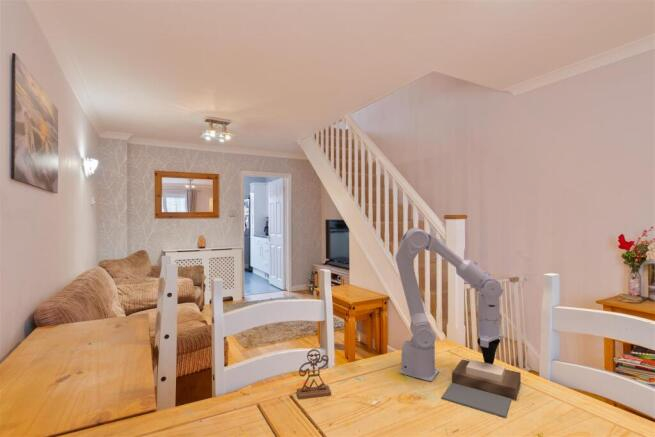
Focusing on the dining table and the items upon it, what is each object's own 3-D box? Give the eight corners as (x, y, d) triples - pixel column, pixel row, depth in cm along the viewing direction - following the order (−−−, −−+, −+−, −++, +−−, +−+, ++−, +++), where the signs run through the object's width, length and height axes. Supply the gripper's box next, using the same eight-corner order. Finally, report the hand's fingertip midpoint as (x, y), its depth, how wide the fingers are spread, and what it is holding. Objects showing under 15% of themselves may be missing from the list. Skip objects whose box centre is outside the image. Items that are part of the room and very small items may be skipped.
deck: (452, 383, 96) (452, 372, 96) (461, 368, 105) (461, 359, 105) (515, 400, 87) (515, 388, 87) (520, 383, 96) (520, 372, 96)
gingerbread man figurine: (298, 399, 88) (298, 353, 88) (296, 392, 92) (296, 348, 92) (331, 395, 90) (331, 350, 90) (328, 388, 94) (328, 345, 94)
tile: (466, 373, 95) (466, 366, 95) (471, 366, 100) (471, 359, 100) (501, 382, 90) (501, 375, 90) (504, 374, 95) (504, 367, 95)
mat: (441, 398, 88) (441, 397, 88) (451, 383, 96) (451, 382, 96) (505, 418, 79) (505, 416, 79) (511, 400, 87) (511, 398, 87)
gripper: (499, 326, 91) (500, 376, 91) (507, 314, 103) (507, 358, 103) (472, 322, 95) (472, 370, 95) (482, 310, 107) (482, 353, 107)
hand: (488, 363), depth 99 cm, fingers closed
